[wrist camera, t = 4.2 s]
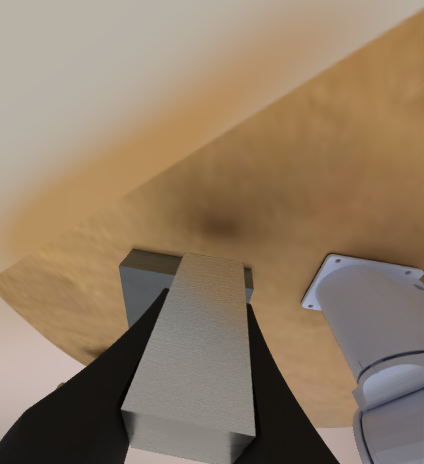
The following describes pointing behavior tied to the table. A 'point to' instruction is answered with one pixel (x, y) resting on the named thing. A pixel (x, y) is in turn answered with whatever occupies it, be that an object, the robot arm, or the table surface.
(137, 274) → the grey slab with hole
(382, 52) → the table surface
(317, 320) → the table surface
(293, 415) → the robot arm
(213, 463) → the grey wooden block
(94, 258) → the table surface
